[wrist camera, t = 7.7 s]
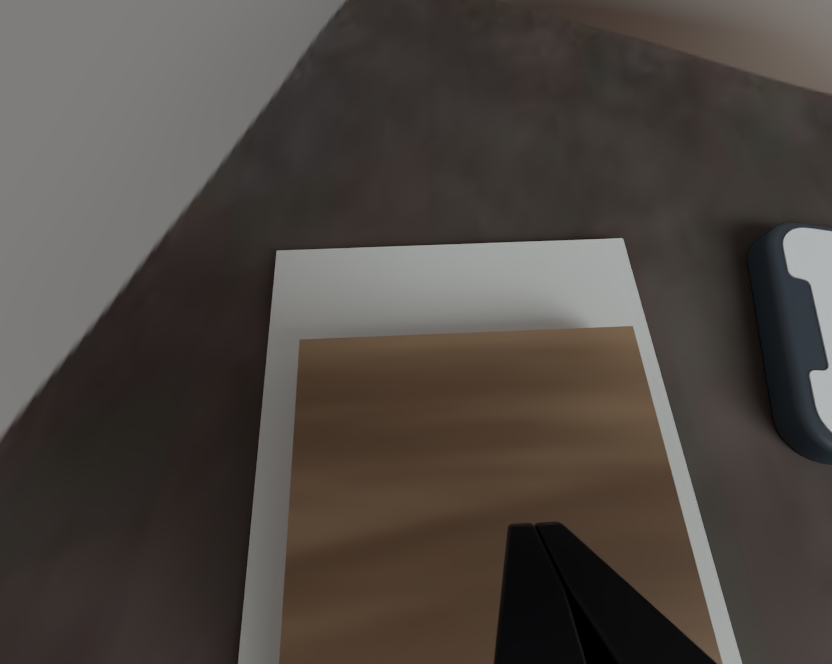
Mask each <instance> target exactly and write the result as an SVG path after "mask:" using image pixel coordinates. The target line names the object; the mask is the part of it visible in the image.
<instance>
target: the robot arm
mask: <svg viewBox="0 0 832 664" xmlns="http://www.w3.org/2000/svg"><path fill="white" fill-rule="evenodd" d="M494 664H717V663H716V662H715V661H714V660H713V659H712V658H711V657H710V656H708V655H707V654H706V653H705V652H704V651H703V650H702V649H701V648H700V647H698V646H697V645H696V644H695V643H694V642H693V641H692V640H691V639H690V638H689V637H687V636H686V635H685V634H684V633H683V632H682V631H681V630H680V629H679V628H677V627H676V626H675V625H674V624H673V623H672V622H671V621H670V620H669V619H668V618H666V617H665V616H664V615H663V614H662V613H661V612H660V611H659V610H658V609H656V608H655V607H654V606H653V605H652V604H651V603H650V602H649V601H648V600H647V599H645V598H644V597H643V596H642V595H641V594H640V593H639V592H638V591H637V590H635V589H634V588H633V587H632V586H631V585H630V584H629V583H628V582H627V581H626V580H624V579H623V578H622V577H621V576H620V575H619V574H618V573H617V572H616V571H614V570H613V569H612V568H611V567H610V566H609V565H608V564H607V563H606V562H605V561H603V560H602V559H601V558H600V557H599V556H598V555H597V554H596V553H595V552H594V551H592V550H591V549H590V548H589V547H588V546H587V545H586V544H585V543H584V542H582V541H581V540H580V539H579V538H578V537H577V536H576V535H575V534H574V533H573V532H571V531H570V530H569V529H568V528H567V527H566V526H565V525H564V524H562V523H560V522H557V521H554V522H538V523H536V524H535V525H533V524H532V523H513V524H510V525H509V526H508V529H507V539H506V548H505V558H504V567H503V577H502V587H501V596H500V606H499V615H498V625H497V635H496V644H495V654H494Z"/></svg>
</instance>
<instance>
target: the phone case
mask: <svg viewBox="0 0 832 664" xmlns="http://www.w3.org/2000/svg"><path fill="white" fill-rule="evenodd" d="M748 267H749V274H750V280H751V286H752V292H753V298H754V304H755V311H756V317H757V323H758V329H759V335H760V341H761V347H762V354H763V360H764V366H765V372H766V378H767V384H768V391H769V397H770V403H771V409H772V415H773V419H774V423H775V426H776V428H777V430H778V432H779V434H780V435H781V437H782V438H783V439H784V441H785V442H786V443H787V444H788V445H789V446H790V447H791V448H792V449H794V450H795V451H796V452H798V453H799V454H801V455H802V456H804V457H806V458H808V459H810V460H813V461H816V462H820V463H824V464H830V465H832V227H825V226H818V225H811V224H804V223H795V222H790V223H782V224H779V225H777V226H775V227H773V228H771V229H770V230H769V231H768V232H766V233H765V234H764V235H763V236H762V237H761V238H759V239H758V240H757V241H756V242H755V243H754V244H753V245H752V246H751V248H750V250H749V252H748Z"/></svg>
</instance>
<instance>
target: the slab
mask: <svg viewBox="0 0 832 664" xmlns="http://www.w3.org/2000/svg"><path fill="white" fill-rule="evenodd" d="M554 521H557V522H560V523H562V524H564V525H565V526H566V527H567V528H568V529H569V530H570V531H571V532H573V533H574V534H575V535H576V536H577V537H578V538H579V539H580V540H581V541H582V542H584V543H585V544H586V545H587V546H588V547H589V548H590V549H591V550H592V551H594V552H595V553H596V554H597V555H598V556H599V557H600V558H601V559H602V560H603V561H605V562H606V563H607V564H608V565H609V566H610V567H611V568H612V569H613V570H614V571H616V572H617V573H618V574H619V575H620V576H621V577H622V578H623V579H624V580H626V581H627V582H628V583H629V584H630V585H631V586H632V587H633V588H634V589H635V590H637V591H638V592H639V593H640V594H641V595H642V596H643V597H644V598H645V599H647V600H648V601H649V602H650V603H651V604H652V605H653V606H654V607H655V608H656V609H658V610H659V611H660V612H661V613H662V614H663V615H664V616H665V617H666V618H668V619H669V620H670V621H671V622H672V623H673V624H674V625H675V626H676V627H677V628H679V629H680V630H681V631H682V632H683V633H684V634H685V635H686V636H687V637H689V638H690V639H691V640H692V641H693V642H694V643H695V644H696V645H697V646H698V647H700V648H701V649H702V650H703V651H704V652H705V653H706V654H707V655H708V656H710V657H711V658H712V659H713V660H714V661H715V662H716V663H717V664H723V663H722V660H721V656H720V652H719V648H718V645H717V641H716V637H715V633H714V629H713V626H712V622H711V618H710V614H709V611H708V607H707V603H706V599H705V596H704V592H703V588H702V584H701V581H700V577H699V573H698V569H697V565H696V562H695V558H694V554H693V550H692V547H691V543H690V539H689V535H688V532H687V528H686V524H685V520H684V517H683V513H682V509H681V505H680V502H679V498H678V494H677V490H676V486H675V483H674V479H673V475H672V471H671V468H670V464H669V460H668V456H667V453H666V449H665V445H664V441H663V438H662V434H661V430H660V426H659V422H658V419H657V415H656V411H655V407H654V404H653V400H652V396H651V392H650V389H649V385H648V381H647V377H646V374H645V370H644V366H643V362H642V358H641V355H640V351H639V347H638V343H637V340H636V336H635V332H634V328H633V326H621V327H596V328H571V329H547V330H522V331H497V332H473V333H448V334H423V335H398V336H374V337H349V338H324V339H300V340H299V356H298V371H297V387H296V403H295V419H294V435H293V451H292V466H291V482H290V498H289V514H288V530H287V545H286V561H285V577H284V593H283V609H282V625H281V640H280V656H279V664H494V654H495V644H496V635H497V625H498V615H499V606H500V596H501V587H502V577H503V567H504V558H505V548H506V539H507V529H508V526H509V525H510V524H513V523H532V524H533V525H535V524H536V523H538V522H554Z"/></svg>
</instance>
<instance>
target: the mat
mask: <svg viewBox="0 0 832 664" xmlns="http://www.w3.org/2000/svg"><path fill="white" fill-rule="evenodd" d="M621 326H633V328H634V332H635V336H636V340H637V343H638V347H639V351H640V355H641V358H642V362H643V366H644V370H645V374H646V377H647V381H648V385H649V389H650V392H651V396H652V400H653V404H654V407H655V411H656V415H657V419H658V422H659V426H660V430H661V434H662V438H663V441H664V445H665V449H666V453H667V456H668V460H669V464H670V468H671V471H672V475H673V479H674V483H675V486H676V490H677V494H678V498H679V502H680V505H681V509H682V513H683V517H684V520H685V524H686V528H687V532H688V535H689V539H690V543H691V547H692V550H693V554H694V558H695V562H696V565H697V569H698V573H699V577H700V581H701V584H702V588H703V592H704V596H705V599H706V603H707V607H708V611H709V614H710V618H711V622H712V626H713V629H714V633H715V637H716V641H717V645H718V648H719V652H720V656H721V660H722V663H723V664H742V662H741V658H740V655H739V651H738V647H737V644H736V640H735V637H734V633H733V630H732V626H731V622H730V619H729V615H728V612H727V608H726V605H725V601H724V597H723V594H722V590H721V587H720V583H719V580H718V576H717V572H716V569H715V565H714V562H713V558H712V555H711V551H710V548H709V544H708V540H707V537H706V533H705V530H704V526H703V523H702V519H701V515H700V512H699V508H698V505H697V501H696V498H695V494H694V490H693V487H692V483H691V480H690V476H689V473H688V469H687V465H686V462H685V458H684V455H683V451H682V448H681V444H680V440H679V437H678V433H677V430H676V426H675V423H674V419H673V415H672V412H671V408H670V405H669V401H668V398H667V394H666V390H665V387H664V383H663V380H662V376H661V373H660V369H659V365H658V362H657V358H656V355H655V351H654V348H653V344H652V340H651V337H650V333H649V330H648V326H647V323H646V319H645V315H644V312H643V308H642V305H641V301H640V298H639V294H638V290H637V287H636V283H635V280H634V276H633V273H632V269H631V266H630V262H629V258H628V255H627V251H626V248H625V244H624V241H623V238H615V239H587V240H559V241H531V242H503V243H475V244H447V245H420V246H392V247H364V248H336V249H308V250H280V251H277V252H276V263H275V273H274V284H273V295H272V305H271V316H270V327H269V337H268V348H267V359H266V369H265V380H264V391H263V401H262V412H261V423H260V433H259V444H258V455H257V465H256V476H255V487H254V498H253V508H252V519H251V530H250V540H249V551H248V562H247V572H246V583H245V594H244V604H243V615H242V626H241V636H240V647H239V658H238V664H279V656H280V640H281V625H282V609H283V593H284V577H285V561H286V545H287V530H288V514H289V498H290V482H291V466H292V451H293V435H294V419H295V403H296V387H297V371H298V356H299V340H300V339H324V338H349V337H374V336H398V335H423V334H448V333H473V332H497V331H522V330H547V329H571V328H596V327H621Z"/></svg>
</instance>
